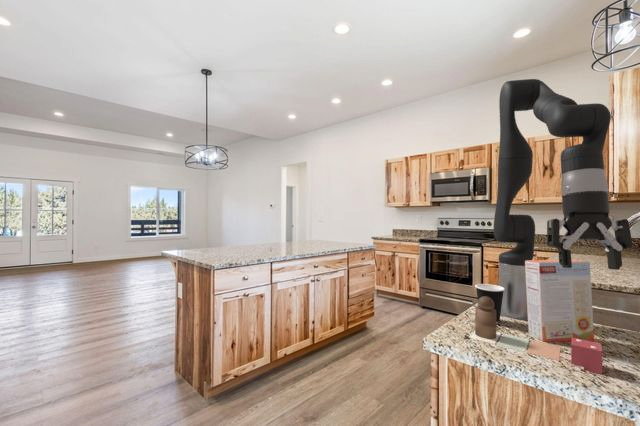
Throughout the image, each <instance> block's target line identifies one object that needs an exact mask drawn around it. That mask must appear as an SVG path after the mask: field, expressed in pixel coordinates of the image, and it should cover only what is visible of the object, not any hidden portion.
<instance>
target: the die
mask: <svg viewBox="0 0 640 426" xmlns="http://www.w3.org/2000/svg"><path fill="white" fill-rule="evenodd" d="M570 343H571V348H570V350H571V352H570V353H571V354H570V357H571V359H570V365H575V366H579V367H582V368H583V370H584V371H587V372H591V373H594V374H598V375H603V348H602V344H601V343H600V342H596V341H587V340H582V339H578V338H573V337H572V342H570Z"/></svg>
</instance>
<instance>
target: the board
mask: <svg viewBox="0 0 640 426" xmlns="http://www.w3.org/2000/svg"><path fill="white" fill-rule="evenodd" d="M501 334H502V335H501ZM468 338H470V339H473V340H478V341H480V342H485V343H488V344H491V345H492V344H493V345H495V344H496V345H497V346H501V347H504V348H509V349H512V350H516V351H520V352H523V353H525V352H526V351H527V353H528V354H532V355H536V356H540V357H543V358H548V359H551V360H555V361H560V356H561V347H562V346H558V345H556V344H555V345H554V344H550V343H547V342H543V341H538V340H533V339H531V340H530V339H528V338H525V337H521V336H515V335H513V334H512V335H511V334H508V333H507V334H506V333H502V332H499V331H496V338H495V339H485V338H482V337H479V336H477V335H476V334H475V330H474V331H473V332H472V334H471V335H469V337H468ZM529 341H530V342H529ZM527 347H528V349H527Z"/></svg>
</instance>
